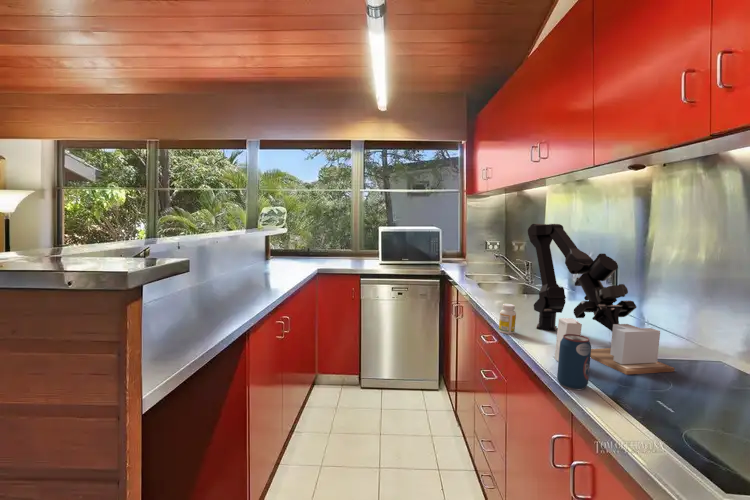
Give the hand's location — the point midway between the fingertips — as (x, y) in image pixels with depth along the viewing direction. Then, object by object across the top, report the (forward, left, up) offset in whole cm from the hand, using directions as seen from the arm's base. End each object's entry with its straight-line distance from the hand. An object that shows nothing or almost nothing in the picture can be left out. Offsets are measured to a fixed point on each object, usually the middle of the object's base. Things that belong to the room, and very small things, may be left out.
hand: (618, 333), depth 132 cm
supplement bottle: (-11, -33, -8) cm, 36 cm away
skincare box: (+13, -13, -8) cm, 20 cm away
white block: (+3, +3, -6) cm, 7 cm away
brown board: (+2, +2, -7) cm, 8 cm away
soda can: (+31, -11, -8) cm, 34 cm away
